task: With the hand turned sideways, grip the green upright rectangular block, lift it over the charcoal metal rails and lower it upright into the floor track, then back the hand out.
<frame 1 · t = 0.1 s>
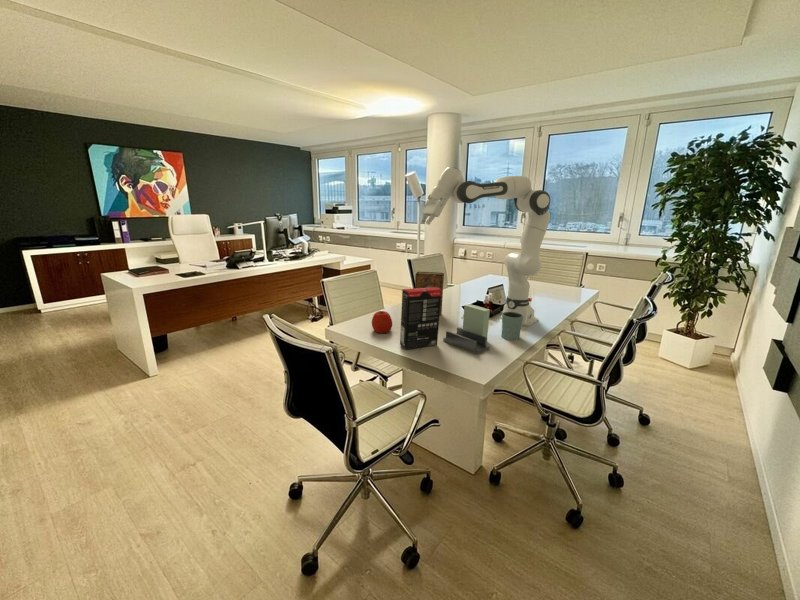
hand: (424, 223, 170), 54 cm above the table, tool tilted 30°, fingers open, 8 cm apart
graphics card box: (419, 346, 158), on the table
book: (427, 313, 207), on the table
green embossed cup: (510, 337, 171), on the table
floor track: (465, 345, 160), on the table
green upright rectangular block: (474, 338, 169), on the table
apple: (381, 331, 176), on the table
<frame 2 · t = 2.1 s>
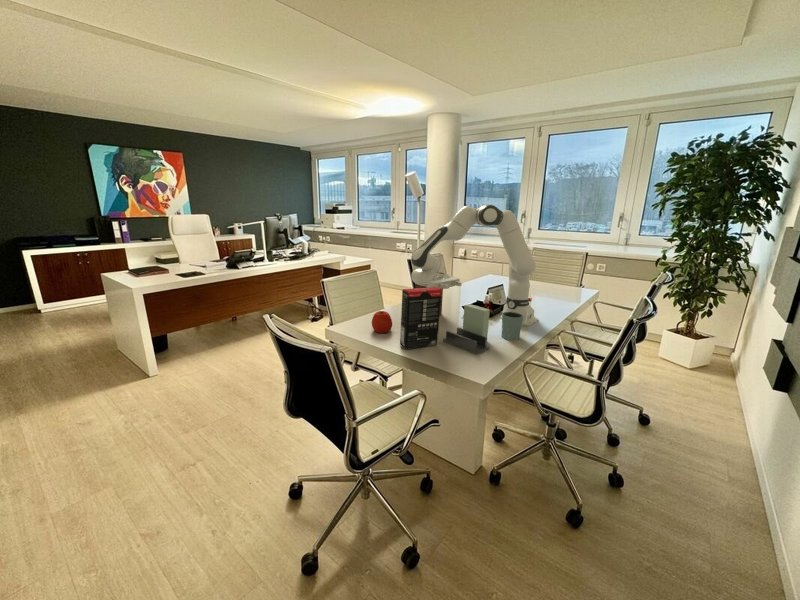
hand: (454, 285, 173), 24 cm above the table, tool horizontal, fingers open, 8 cm apart
nothing on the table moved.
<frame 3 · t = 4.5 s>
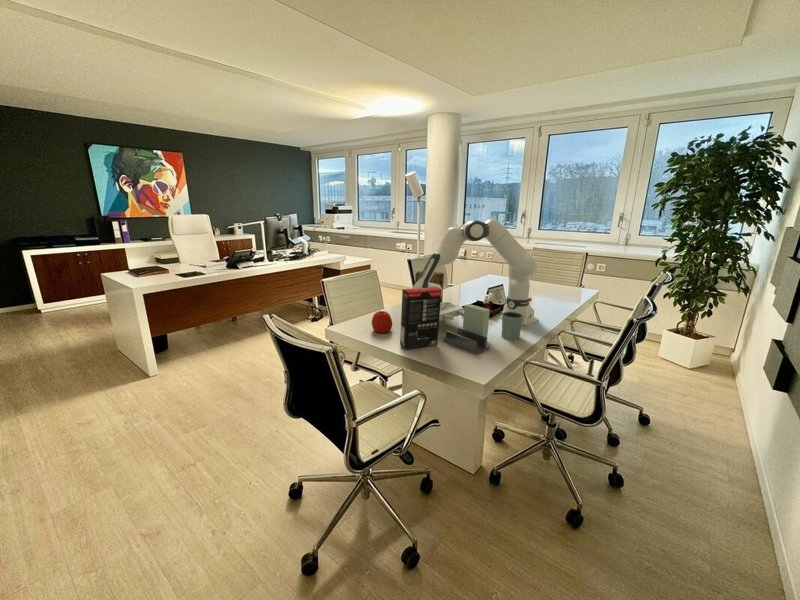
hand: (458, 316, 174), 8 cm above the table, tool horizontal, fingers open, 8 cm apart
nothing on the table moved.
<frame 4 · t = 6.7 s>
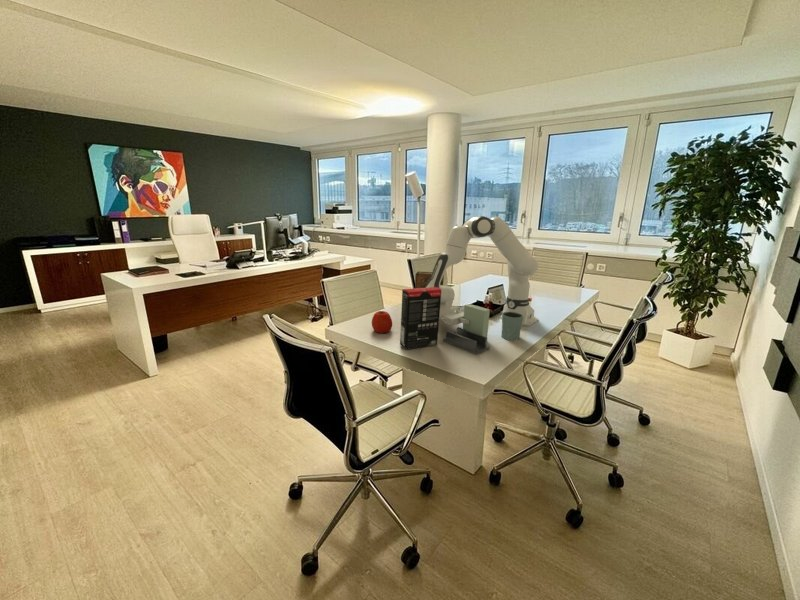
hand: (473, 321, 168), 9 cm above the table, tool horizontal, fingers closed on green upright rectangular block, 4 cm apart
green upright rectangular block: (474, 338, 169), on the table, touching gripper
everything else where it was.
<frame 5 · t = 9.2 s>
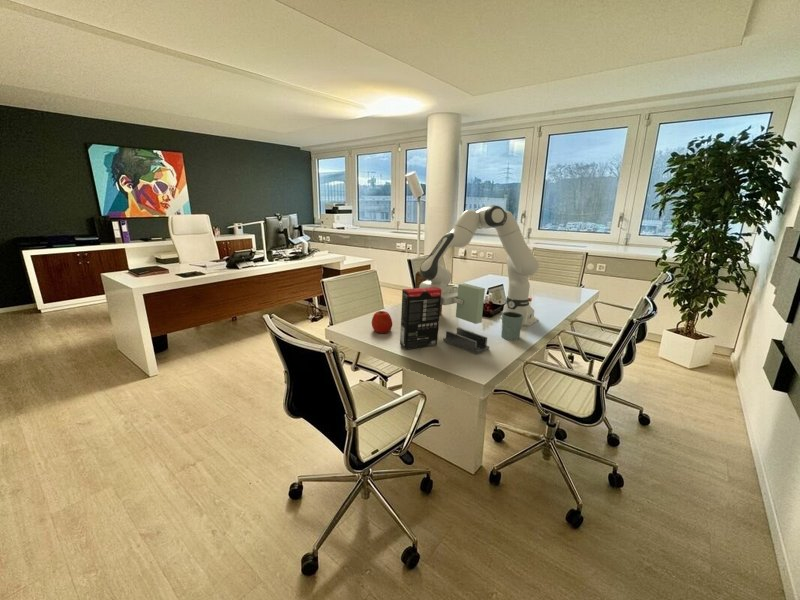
hand: (467, 301, 158), 20 cm above the table, tool horizontal, fingers closed on green upright rectangular block, 4 cm apart
green upright rectangular block: (468, 319, 159), point 12 cm above the table, touching gripper
everything else where it was.
when the fingers open (11 cm above the table, at t = 11.8 s): green upright rectangular block drops 1 cm, resting on floor track.
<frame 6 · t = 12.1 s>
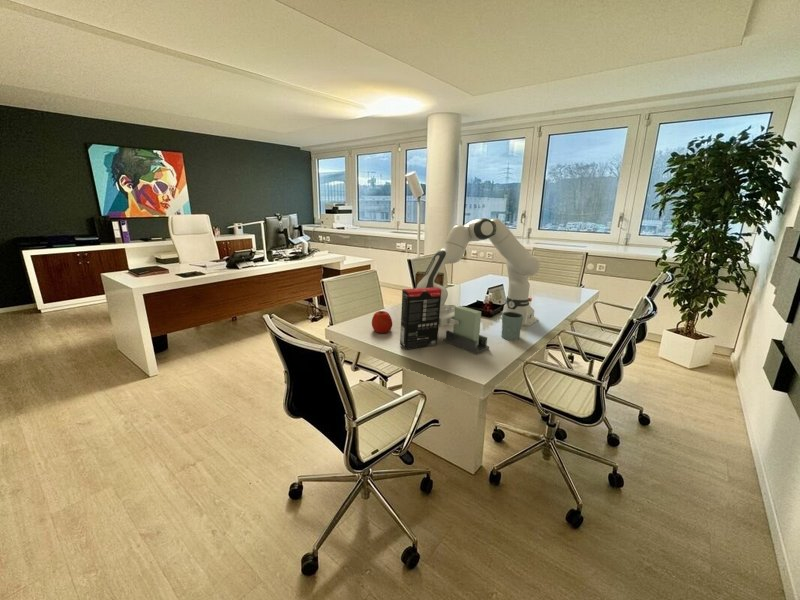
hand: (464, 321, 158), 11 cm above the table, tool horizontal, fingers open, 6 cm apart
green upright rectangular block: (465, 342, 160), point 1 cm above the table, touching floor track
everything else where it was.
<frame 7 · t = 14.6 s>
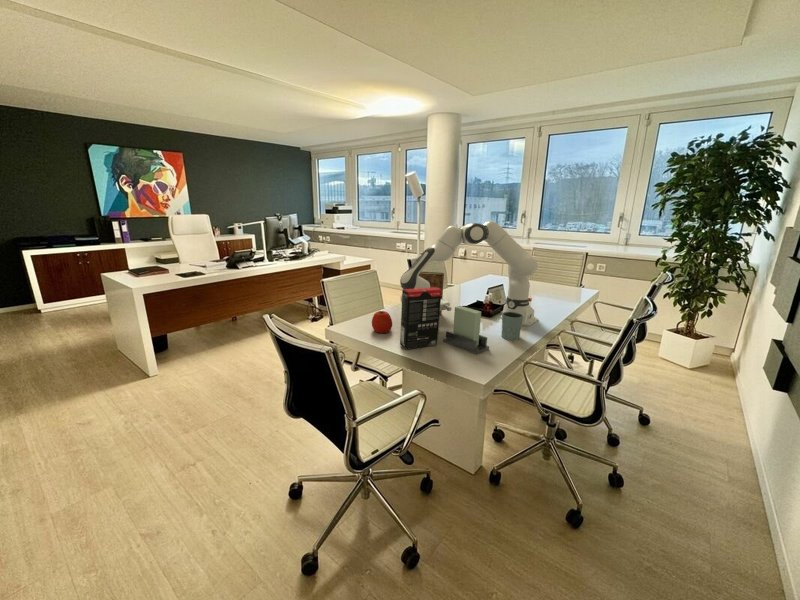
hand: (444, 311, 168), 13 cm above the table, tool horizontal, fingers open, 8 cm apart
nothing on the table moved.
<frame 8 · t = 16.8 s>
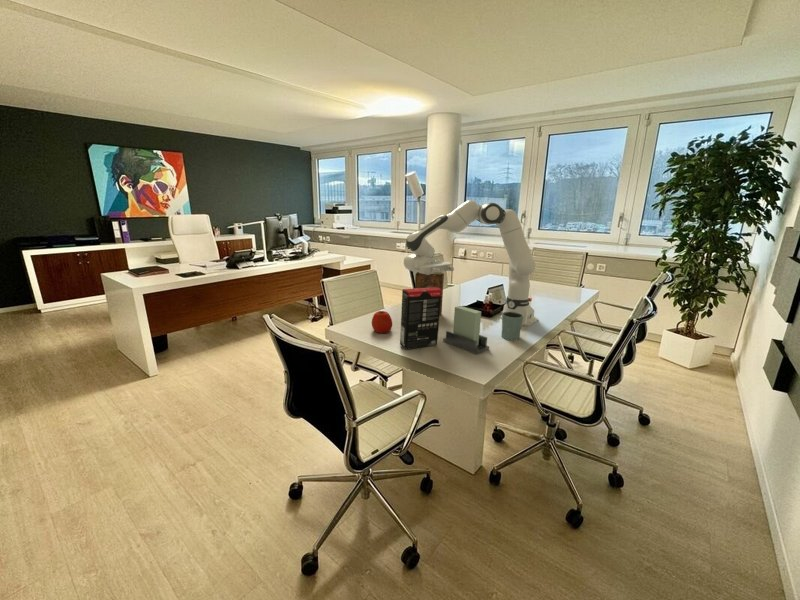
hand: (446, 270, 170), 32 cm above the table, tool horizontal, fingers open, 8 cm apart
nothing on the table moved.
at the end: green upright rectangular block 0.2 cm off-centre on the floor track, point 1.5 cm above the floor track's base; green upright rectangular block tilted 0°; the gripper is holding nothing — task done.
